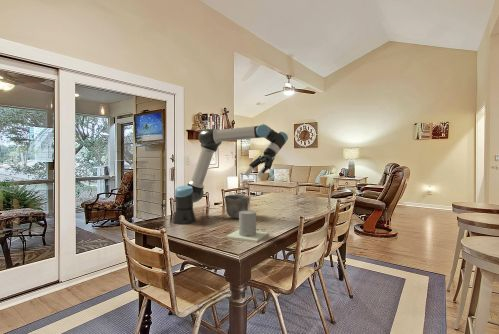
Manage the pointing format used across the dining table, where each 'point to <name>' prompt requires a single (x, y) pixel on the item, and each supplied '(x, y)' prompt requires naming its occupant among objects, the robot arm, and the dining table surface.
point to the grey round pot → (236, 204)
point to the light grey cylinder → (247, 223)
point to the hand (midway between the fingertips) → (252, 175)
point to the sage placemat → (255, 238)
